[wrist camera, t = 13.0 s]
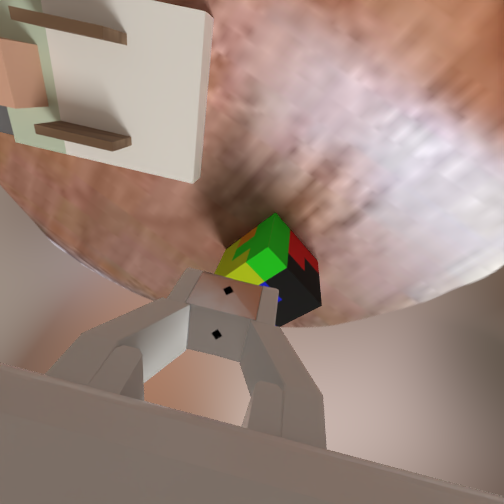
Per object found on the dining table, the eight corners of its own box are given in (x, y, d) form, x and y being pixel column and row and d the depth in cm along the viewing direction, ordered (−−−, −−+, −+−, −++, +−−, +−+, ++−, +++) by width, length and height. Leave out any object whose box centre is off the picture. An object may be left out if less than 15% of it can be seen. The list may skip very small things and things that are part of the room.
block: (-15, 33, 30) (-61, 25, 26) (37, 44, 30) (-2, 38, 26) (1, 96, 33) (-38, 96, 29) (48, 106, 33) (15, 108, 29)
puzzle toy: (267, 291, 46) (259, 337, 37) (225, 249, 43) (207, 288, 34) (317, 261, 42) (321, 305, 33) (275, 212, 39) (268, 246, 30)
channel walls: (43, 15, 28) (8, 5, 25) (126, 33, 28) (102, 25, 25) (62, 129, 34) (35, 133, 31) (131, 145, 34) (112, 151, 30)
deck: (-63, -40, 30) (-97, -52, 27) (213, 18, 29) (205, 11, 26) (-13, 127, 39) (-35, 130, 36) (200, 177, 38) (192, 183, 35)
